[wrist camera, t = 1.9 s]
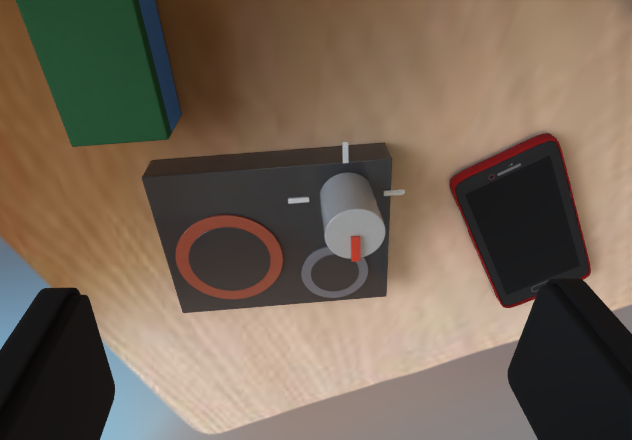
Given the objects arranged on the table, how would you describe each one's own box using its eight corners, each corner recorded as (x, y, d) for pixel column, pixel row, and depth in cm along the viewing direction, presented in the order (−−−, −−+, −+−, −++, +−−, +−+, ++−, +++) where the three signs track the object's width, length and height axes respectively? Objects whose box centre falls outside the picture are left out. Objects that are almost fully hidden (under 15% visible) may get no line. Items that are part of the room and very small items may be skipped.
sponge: (149, -26, 25) (128, -17, 21) (181, 114, 29) (168, 140, 26) (48, -19, 25) (11, -9, 21) (95, 121, 29) (71, 147, 26)
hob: (398, 122, 30) (407, 137, 28) (391, 274, 38) (398, 297, 36) (145, 141, 30) (134, 158, 28) (188, 291, 37) (182, 314, 35)
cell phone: (499, 304, 40) (503, 312, 39) (444, 177, 33) (448, 183, 32) (587, 269, 38) (593, 276, 38) (550, 126, 31) (557, 132, 30)
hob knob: (318, 174, 29) (323, 214, 25) (373, 169, 29) (387, 209, 25) (320, 220, 31) (326, 264, 27) (372, 216, 31) (385, 259, 27)
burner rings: (368, 202, 31) (369, 204, 31) (367, 293, 35) (368, 295, 35) (164, 218, 31) (163, 221, 30) (190, 308, 35) (189, 310, 35)
